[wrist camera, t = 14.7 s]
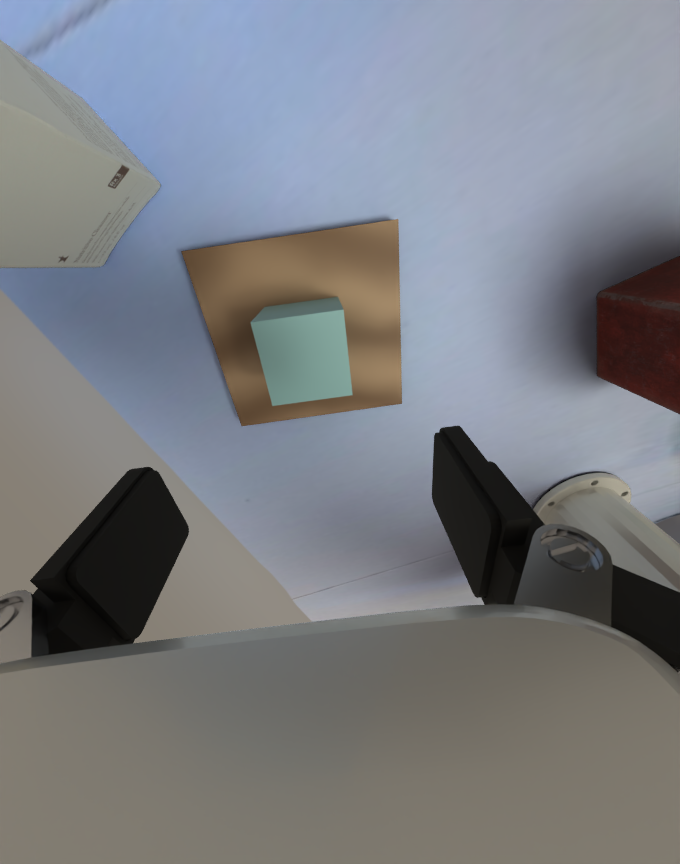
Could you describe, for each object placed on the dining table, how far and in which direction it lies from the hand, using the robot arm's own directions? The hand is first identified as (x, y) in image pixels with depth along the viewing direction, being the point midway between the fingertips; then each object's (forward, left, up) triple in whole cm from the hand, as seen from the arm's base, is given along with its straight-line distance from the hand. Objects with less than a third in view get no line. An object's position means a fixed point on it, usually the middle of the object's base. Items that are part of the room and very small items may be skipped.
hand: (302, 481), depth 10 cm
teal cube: (0, 0, -18) cm, 18 cm away
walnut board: (0, 0, -20) cm, 20 cm away
